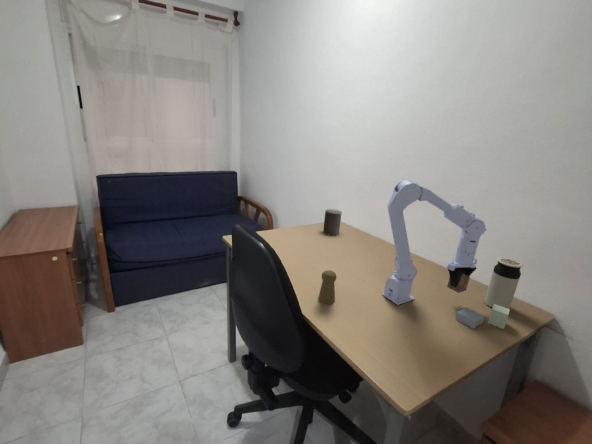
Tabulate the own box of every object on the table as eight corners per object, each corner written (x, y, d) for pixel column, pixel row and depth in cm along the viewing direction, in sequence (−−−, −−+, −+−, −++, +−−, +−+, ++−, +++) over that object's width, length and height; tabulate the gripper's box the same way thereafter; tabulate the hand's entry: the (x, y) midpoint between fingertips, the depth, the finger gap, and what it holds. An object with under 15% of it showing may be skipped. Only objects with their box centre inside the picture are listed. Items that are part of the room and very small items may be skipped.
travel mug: (509, 314, 104) (524, 268, 99) (484, 306, 108) (497, 262, 103) (508, 304, 111) (522, 261, 106) (484, 297, 115) (496, 255, 110)
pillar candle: (322, 234, 173) (325, 210, 168) (323, 229, 182) (326, 206, 178) (338, 236, 172) (342, 212, 167) (339, 231, 181) (342, 208, 176)
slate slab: (473, 329, 95) (475, 321, 94) (455, 319, 100) (457, 311, 99) (481, 324, 98) (484, 316, 97) (464, 314, 103) (466, 307, 102)
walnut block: (458, 293, 104) (462, 279, 102) (447, 286, 108) (450, 273, 106) (466, 290, 106) (469, 276, 104) (454, 284, 110) (457, 271, 108)
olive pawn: (324, 305, 102) (327, 277, 99) (315, 296, 107) (317, 269, 104) (338, 302, 105) (341, 274, 102) (328, 293, 110) (331, 267, 107)
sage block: (503, 329, 96) (508, 315, 94) (487, 323, 99) (492, 309, 97) (505, 323, 99) (509, 309, 98) (489, 317, 102) (494, 303, 100)
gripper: (465, 257, 95) (456, 294, 100) (489, 251, 103) (479, 285, 107) (445, 249, 101) (437, 284, 105) (469, 244, 108) (461, 276, 112)
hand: (457, 284), depth 106 cm, fingers closed on walnut block, 4 cm apart
